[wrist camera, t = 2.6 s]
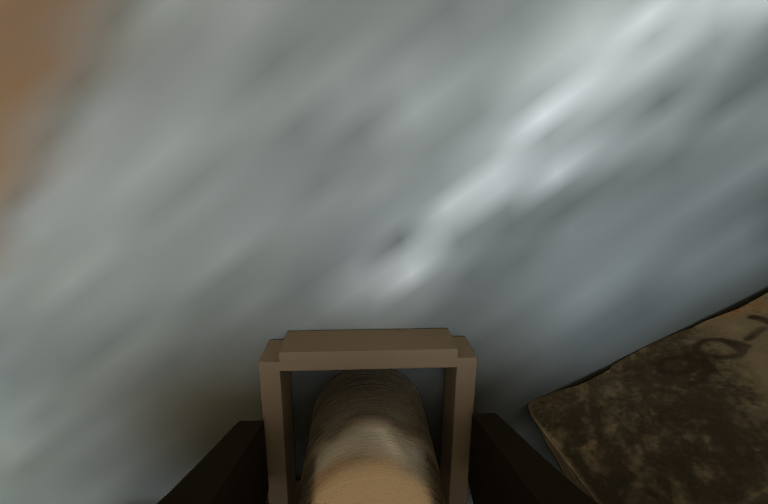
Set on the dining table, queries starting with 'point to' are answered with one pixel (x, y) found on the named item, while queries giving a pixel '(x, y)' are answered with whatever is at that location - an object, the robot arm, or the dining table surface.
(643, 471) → the stone block
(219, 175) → the dining table surface
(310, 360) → the trolley
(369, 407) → the canister with orange lid
